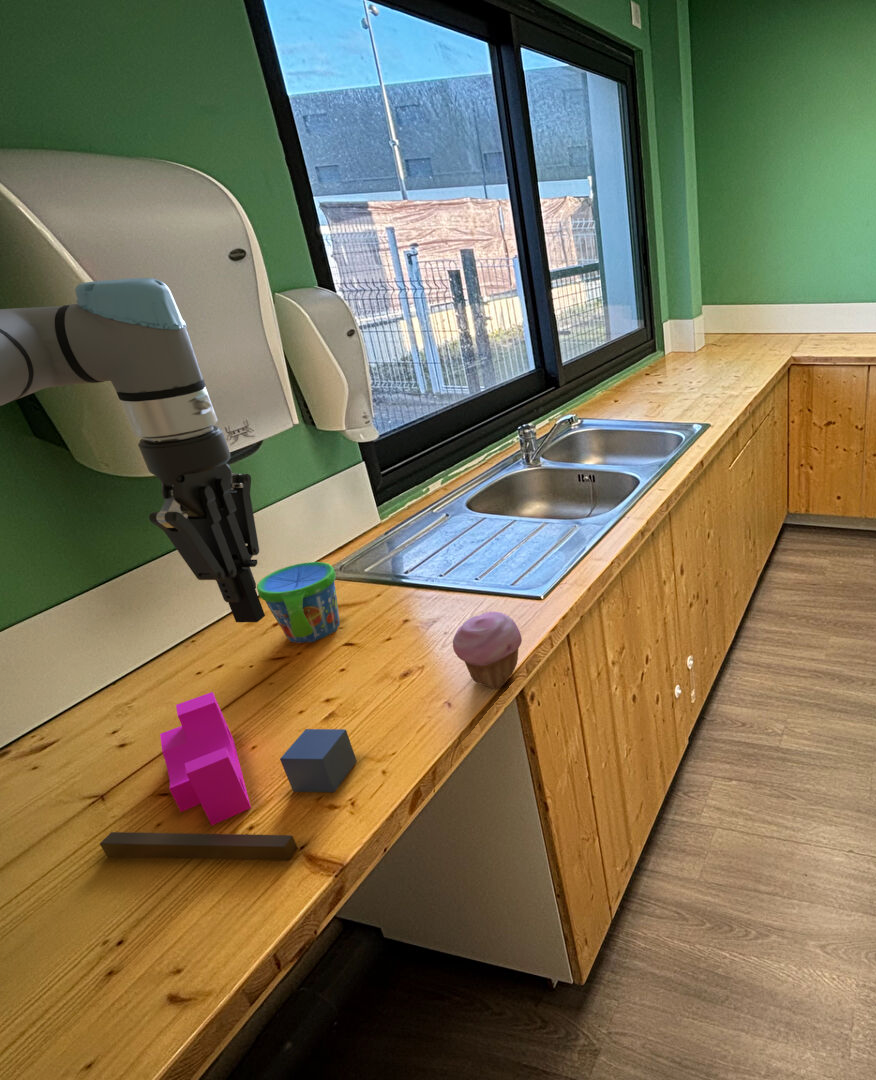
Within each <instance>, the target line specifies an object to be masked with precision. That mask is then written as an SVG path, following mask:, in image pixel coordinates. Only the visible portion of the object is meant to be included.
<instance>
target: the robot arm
mask: <svg viewBox="0 0 876 1080" xmlns="http://www.w3.org/2000/svg"><path fill="white" fill-rule="evenodd" d="M74 292H75V296H76V303H71V304H64V305H58V306H42V307H41V306H40V307H38V306H37V307H19V308H18V307H17V308H0V407H1V406H4V405H6V404H9V403H11V402H14V401H17V400H19V399H22V398H24V397H26V396H29V395H32V394H34V393H36V392H39V391H41V390H44V389H48V388H55V387H65V386H74V385H81V384H82V385H83V384H97V383H104V382H111V384H112V386H113V388H114V390H115V392H116V395H117V397H118V401H119V402H120V404H121V407H122V410H123V412H124V415H125V417H126V420H127V422H128V425H129V427H130V430H131V432H132V434H133V436H135V437H137V438H139V439H140V440H139V442H138V444H137V446H138V448H139V451H140V453H141V455H142V458H143V460H144V463H145V465H146V468H147V470H148V472H149V473H150V474H151V475H153V476H154V477H156V478H157V479H159V481H160V484H161V496H162V498H163V500H164V503H163V504H162V506H161V509H160V510H159V511H152V512H150V514H149V516H148V517H149V521H150V522H151V523H152V524H153V525H155V526H156V527H157V528H159V529H161V530H162V531H163V532H164V533H165V536H167V538H168V539H169V540H170V542H171V544H172V545H173V547H174V548H175V549H176V551H177V552H178V553H179V555H180V556H181V558H182V560H183V561H184V562H185V563H186V565H187V566H188V567H189V569H190V571H191V572H192V573H193V575H194V576H195V577H196V579H197V580H198V581H215V582H216V583H217V586H218V589H219V592H220V593H221V595H222V599H223V600H224V602H225V603H228V605H229V608H230V611H231V613H232V616H233V619H234V621H235V623H258V622H259V621H261V620H262V619H263V618H265V617H266V614H265V612H264V608H263V606H262V603H261V600H260V597H259V595H258V591H257V583H256V580H255V578H254V574H253V572H252V569H251V568H255V567H256V566H257V565H258V559H252V558H253V556H257V555H258V554H259V553H260V546H259V539H258V534H257V528H256V520H255V516H254V510H253V504H252V498H251V486H252V477H251V475H250V474H249V473H236V472H233V471H232V468H231V467H230V465H229V464H228V463H227V462H229V460H230V459H231V452H230V449H229V445H228V443H227V440H226V438H225V435H224V432H223V429H221V428H220V427H219V426H216V424H217V423H218V420H219V419H218V417H217V414H216V411H215V409H214V406H213V403H212V401H211V398H210V395H209V392H208V390H207V387H206V382H205V380H204V378H203V374H202V372H201V369H200V365H199V363H198V360H197V357H196V353H195V350H194V348H193V345H192V342H191V339H190V336H189V333H188V330H187V327H188V326H187V323H186V321H185V320H184V319H183V317H182V315H181V312H180V310H179V308H178V306H177V303H176V300H175V298H174V296H173V294H172V291H171V289H170V288H169V286H168V285H167V284H166V283H164V281H161V280H160V279H157V278H153V277H138V278H137V277H136V278H134V277H133V278H120V279H105V280H104V279H103V280H94V281H87V282H81V283H79V284H77V285H76V286H75V288H74Z"/></svg>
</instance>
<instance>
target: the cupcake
mask: <svg viewBox="0 0 876 1080" xmlns="http://www.w3.org/2000/svg"><path fill="white" fill-rule="evenodd" d="M455 632H456V633H454V637H453V639H452V649H453V651H454V654H455V655H456V656H457V658H458V659H459V660H460V661H462V662H464V664H465V665H466V668H467V671H468V673H469V675H470V677H471V679H472V680H473V682H475V683H477V684H480V685H482V686H486V687H489V688H491V689H500V688H502V687H503V686H504V685H505V684H506V682H507V681H508V679H509V677H511V676H512V675H513V673H514V671H515V669H516V667H517V665H518V662H519V661H518V660H519V648H520V646H521V645H522V642H523V638H522V634H521V631H520V629H519V626H518V625H517V623H516V622H515V620H514V619H512V618H511V617H510V616H509V615H507V614H506V613H503V612H501V611H487V612H484V613H481V614H479V615H475V616H472V617H469V618H468V619H467V620H465V621H464V622H463V623H462V625H460V626H459V627H458V629H457V630H456V631H455Z"/></svg>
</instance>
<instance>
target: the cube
mask: <svg viewBox="0 0 876 1080" xmlns="http://www.w3.org/2000/svg"><path fill="white" fill-rule="evenodd" d="M279 761H280V763H281V765H282V768H283V770H284V772H285V773H284V774H285V776H286V778H287V780H288V783H289V785H290V788H291V790H292V792H293V793H335V792H336V791H337V790H338V788H339V787H340V786H341V784H342V783H343V781H344V780H345V779H346V777H347V776H348V775H349V773H350V771H351V770H352V769H353V768H354V766H355V765H356V763H357V762H358V760H357V758H356V754H355V752H354V749H353V745H352V743H351V740H350V737H349V734H348V731H347V729H346V728H341V729H340V728H305V729H304V730H303V732H302V733H301V734H300V735H299V736H298V737H297V738H296V740H295V741H294V742H293V743H292V744H291V745H290V747H289V748H288V749H287V750H286V751H285V753H283V754H282V756H281V757H280V758H279Z"/></svg>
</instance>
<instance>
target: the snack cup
mask: <svg viewBox="0 0 876 1080" xmlns="http://www.w3.org/2000/svg"><path fill="white" fill-rule="evenodd" d="M336 577H337V575H336V571H335V568H334V566H332V565H331V564H330V563H328V562H322V561H310V562H302V563H296V564H292V565H288V566H286V567H283V568H279V569H277V570H275V571H272V572H271V573H269V574H267V575H266V576H264V577H263V578H262V579H261V580H259V582H258V583H256V591H257V595H258V598H259V599H261V600H263V601H265V604H266V605H267V607H268V609H269V610H270V612H271V613H272V615H273V617H274V619H275V621H276V622H277V623H278V625H279V627H280V628H281V630H282V631H283V634H284V635H285V637H286V638H287V640H288V641H289V642H291V643H296V644H307V643H311V644H313V643H315V642H317V641H319V640H322V639H325V638H326V637H328V636H330V635H331V634H333V633H336V632H337V630H338V628H339V626H340V612H339V611H340V610H339V604H338V597H337V589H336V584H335V581H336Z"/></svg>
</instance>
